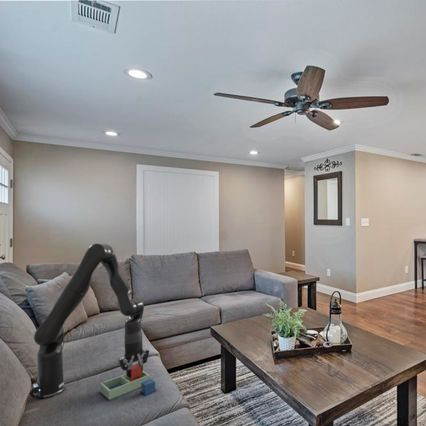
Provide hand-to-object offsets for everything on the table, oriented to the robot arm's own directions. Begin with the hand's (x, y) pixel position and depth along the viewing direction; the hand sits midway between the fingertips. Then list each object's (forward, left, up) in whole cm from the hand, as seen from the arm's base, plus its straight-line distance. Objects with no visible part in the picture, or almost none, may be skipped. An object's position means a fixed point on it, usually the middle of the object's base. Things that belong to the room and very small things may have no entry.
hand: (134, 374), depth 159 cm
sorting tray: (-4, 0, -4) cm, 6 cm away
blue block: (+1, -13, -4) cm, 14 cm away
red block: (0, 0, 0) cm, 0 cm away
